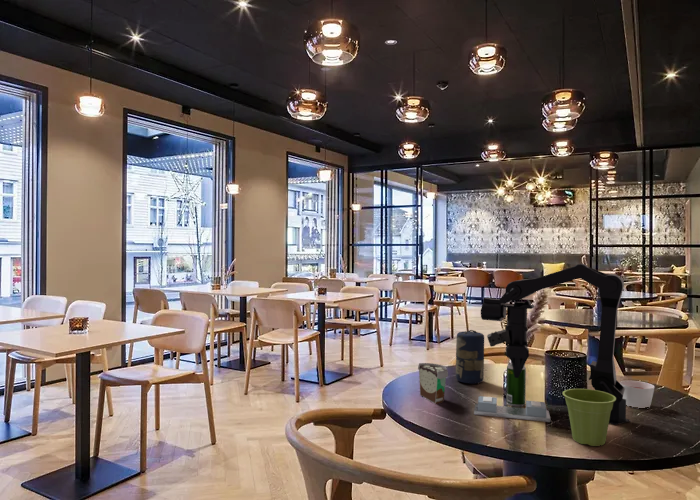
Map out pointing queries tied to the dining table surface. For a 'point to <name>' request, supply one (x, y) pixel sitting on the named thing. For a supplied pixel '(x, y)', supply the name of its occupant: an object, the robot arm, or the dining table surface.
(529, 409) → the module
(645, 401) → the white tapered cup
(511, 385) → the beer can
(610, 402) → the plant pot
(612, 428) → the dining table surface
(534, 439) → the dining table surface
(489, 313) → the robot arm
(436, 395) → the food container
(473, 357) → the canister
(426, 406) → the dining table surface
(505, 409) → the rail
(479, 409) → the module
